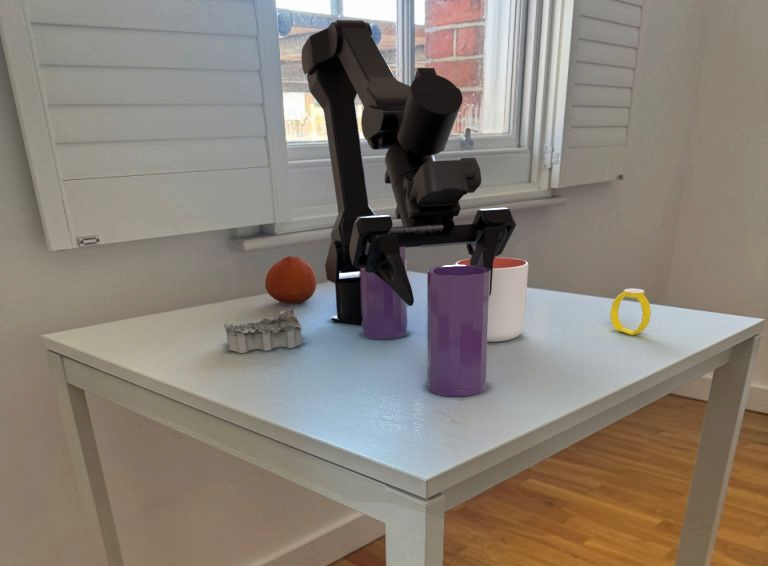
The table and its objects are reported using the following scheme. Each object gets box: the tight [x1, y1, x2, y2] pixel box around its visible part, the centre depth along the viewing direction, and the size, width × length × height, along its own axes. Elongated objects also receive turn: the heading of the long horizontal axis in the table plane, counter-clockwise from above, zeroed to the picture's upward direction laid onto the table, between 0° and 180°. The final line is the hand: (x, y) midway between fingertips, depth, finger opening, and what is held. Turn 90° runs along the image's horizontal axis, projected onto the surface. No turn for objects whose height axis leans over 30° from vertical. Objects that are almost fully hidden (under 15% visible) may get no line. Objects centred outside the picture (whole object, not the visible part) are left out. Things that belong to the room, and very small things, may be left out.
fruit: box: [264, 255, 317, 305], centre depth 123 cm, size 9×9×8 cm
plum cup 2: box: [426, 264, 490, 398], centre depth 78 cm, size 7×7×13 cm
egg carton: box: [224, 308, 303, 354], centre depth 99 cm, size 11×8×4 cm
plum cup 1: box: [358, 247, 408, 341], centre depth 100 cm, size 7×7×13 cm
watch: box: [609, 287, 652, 336], centre depth 98 cm, size 6×3×6 cm, turn 32°
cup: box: [454, 256, 529, 343], centre depth 99 cm, size 10×10×10 cm
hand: (450, 300), depth 78 cm, fingers open, 9 cm apart
